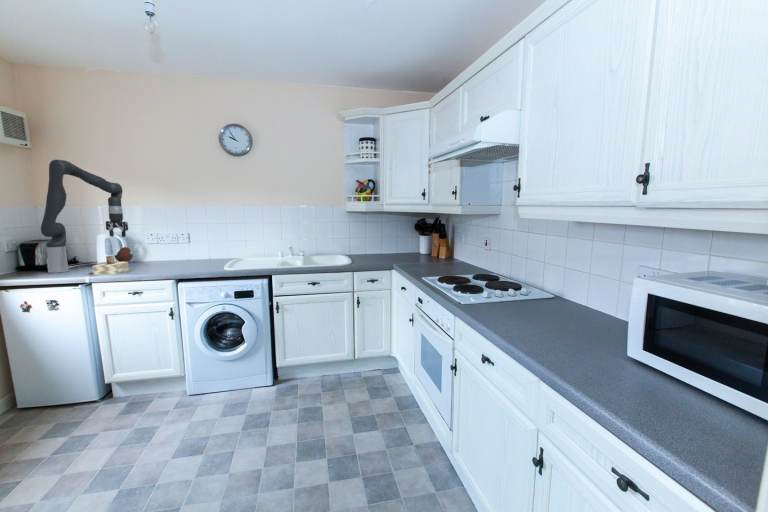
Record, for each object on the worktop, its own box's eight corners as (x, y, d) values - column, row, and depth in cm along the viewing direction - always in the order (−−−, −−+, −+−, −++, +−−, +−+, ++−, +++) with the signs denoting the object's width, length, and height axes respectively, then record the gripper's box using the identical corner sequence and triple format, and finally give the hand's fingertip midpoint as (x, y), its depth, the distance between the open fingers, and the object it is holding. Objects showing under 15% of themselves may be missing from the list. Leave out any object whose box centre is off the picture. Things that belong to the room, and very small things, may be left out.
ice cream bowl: (117, 267, 254) (115, 246, 251) (135, 266, 258) (133, 246, 256) (113, 269, 244) (111, 248, 242) (132, 268, 249) (130, 248, 247)
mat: (84, 275, 223) (84, 275, 223) (96, 271, 237) (96, 270, 237) (127, 274, 230) (127, 273, 230) (136, 270, 244) (136, 269, 244)
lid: (93, 274, 224) (91, 258, 223) (104, 270, 238) (102, 255, 237) (119, 273, 229) (117, 257, 227) (128, 269, 242) (127, 254, 241)
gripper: (101, 212, 231) (103, 236, 233) (120, 213, 230) (123, 237, 232) (110, 212, 238) (112, 235, 241) (130, 212, 237) (132, 236, 240)
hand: (117, 236), depth 236 cm, fingers open, 8 cm apart
